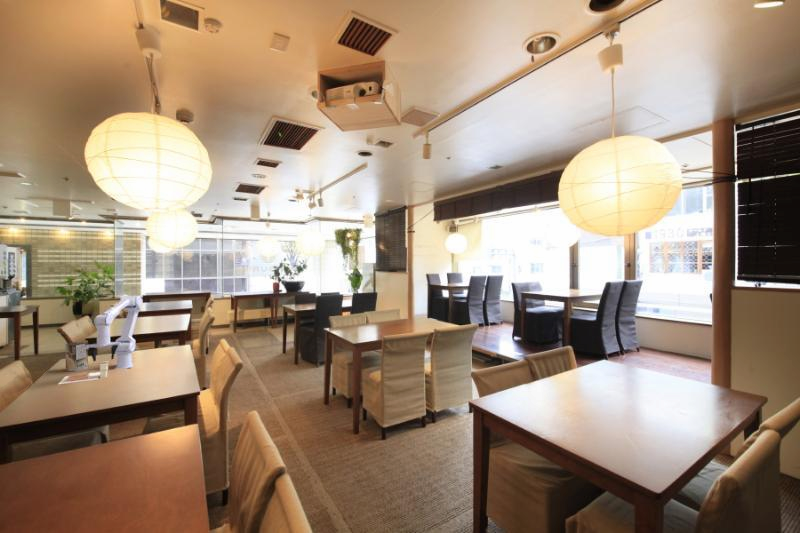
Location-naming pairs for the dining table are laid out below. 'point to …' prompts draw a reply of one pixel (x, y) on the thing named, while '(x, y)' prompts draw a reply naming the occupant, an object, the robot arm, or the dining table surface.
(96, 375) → the mat
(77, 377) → the tile
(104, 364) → the tall beige block
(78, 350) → the coffee box
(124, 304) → the robot arm
